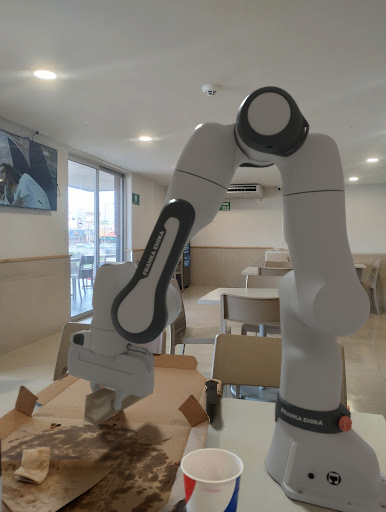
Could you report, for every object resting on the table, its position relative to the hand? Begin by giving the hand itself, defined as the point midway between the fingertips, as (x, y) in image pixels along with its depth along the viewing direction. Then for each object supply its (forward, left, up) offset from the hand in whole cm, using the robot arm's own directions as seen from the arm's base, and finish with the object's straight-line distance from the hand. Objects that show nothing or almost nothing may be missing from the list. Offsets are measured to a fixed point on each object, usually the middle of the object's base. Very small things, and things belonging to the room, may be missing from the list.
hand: (107, 405), depth 77 cm
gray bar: (0, -5, -2) cm, 5 cm away
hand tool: (-12, -28, -8) cm, 32 cm away
